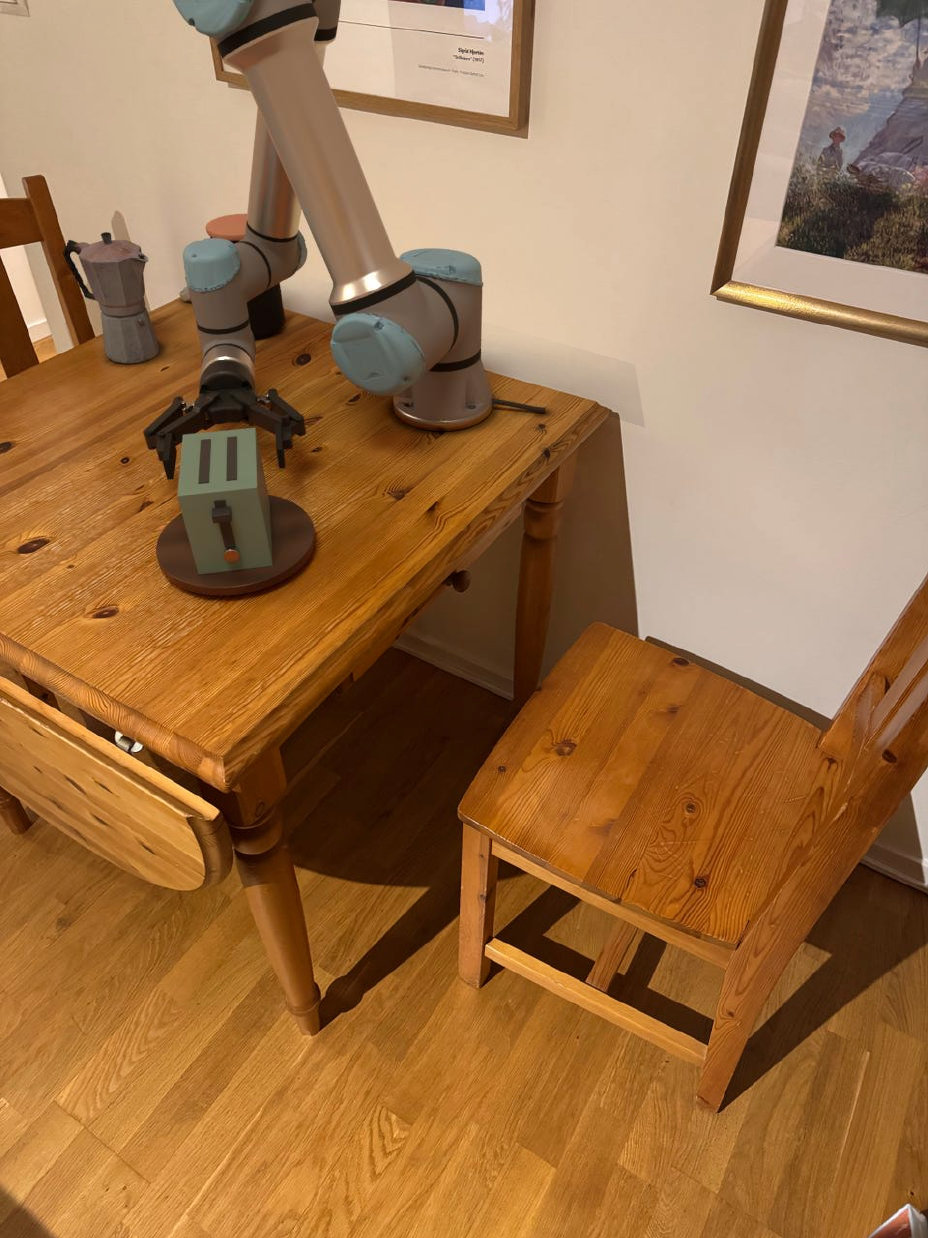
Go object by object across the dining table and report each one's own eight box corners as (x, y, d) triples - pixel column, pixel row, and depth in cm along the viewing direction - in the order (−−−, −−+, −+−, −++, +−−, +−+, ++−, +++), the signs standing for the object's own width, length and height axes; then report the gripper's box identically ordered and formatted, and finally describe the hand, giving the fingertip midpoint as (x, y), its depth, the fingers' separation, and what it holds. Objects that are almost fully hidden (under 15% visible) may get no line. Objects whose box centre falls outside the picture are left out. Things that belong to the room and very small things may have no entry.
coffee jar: (224, 319, 157) (204, 216, 145) (283, 313, 159) (268, 210, 147) (227, 344, 150) (205, 237, 138) (288, 338, 152) (273, 231, 139)
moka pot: (160, 369, 143) (127, 245, 129) (75, 361, 145) (35, 238, 132) (185, 344, 150) (156, 224, 136) (103, 337, 152) (68, 218, 138)
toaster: (163, 509, 111) (138, 424, 103) (310, 493, 114) (298, 409, 106) (152, 605, 98) (123, 516, 89) (320, 584, 100) (307, 496, 92)
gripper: (320, 400, 125) (330, 479, 110) (143, 416, 122) (128, 500, 107) (313, 351, 120) (323, 427, 105) (129, 366, 117) (111, 447, 102)
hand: (224, 464), depth 106 cm, fingers open, 13 cm apart
